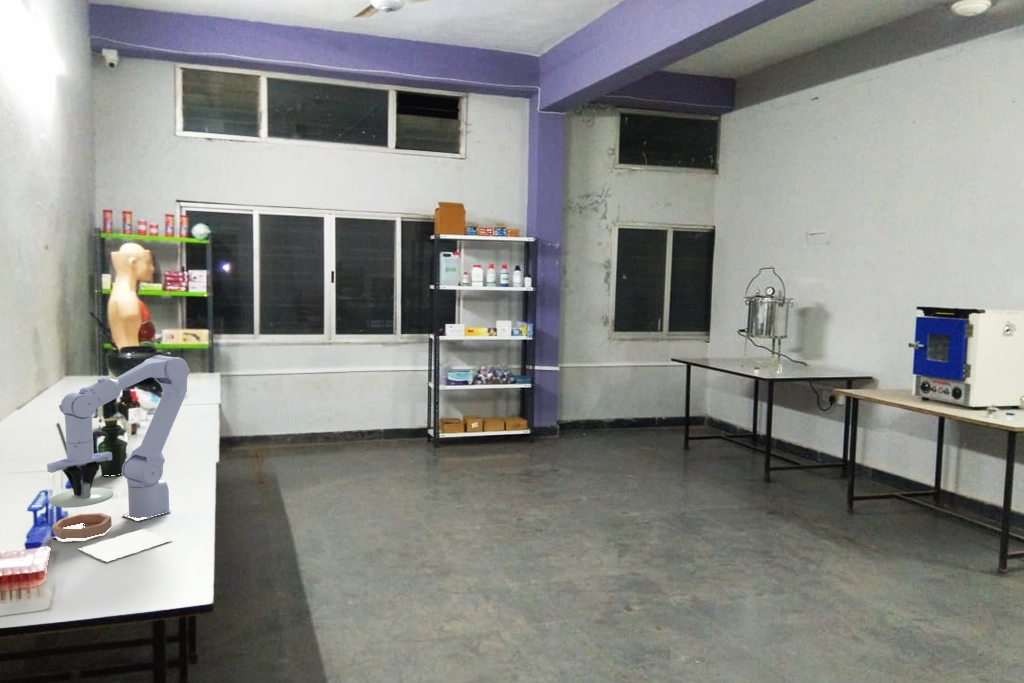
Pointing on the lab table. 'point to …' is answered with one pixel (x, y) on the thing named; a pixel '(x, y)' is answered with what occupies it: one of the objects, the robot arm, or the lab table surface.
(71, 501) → the lid
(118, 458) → the potion bottle
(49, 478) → the lab table surface
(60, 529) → the bowl
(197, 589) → the lab table surface
